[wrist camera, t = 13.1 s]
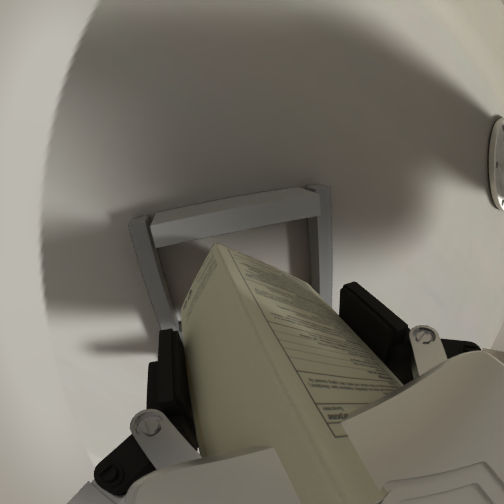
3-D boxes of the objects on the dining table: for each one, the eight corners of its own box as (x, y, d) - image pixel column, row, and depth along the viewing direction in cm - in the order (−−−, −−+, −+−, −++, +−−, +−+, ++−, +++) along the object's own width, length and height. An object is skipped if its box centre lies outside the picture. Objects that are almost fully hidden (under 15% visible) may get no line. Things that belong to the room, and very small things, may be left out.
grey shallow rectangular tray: (318, 183, 17) (352, 193, 14) (320, 374, 24) (338, 403, 21) (132, 218, 15) (118, 238, 12) (199, 406, 22) (205, 440, 19)
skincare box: (178, 310, 14) (211, 562, 3) (214, 238, 13) (338, 525, 2) (276, 342, 16) (373, 518, 5) (314, 284, 15) (466, 451, 4)
